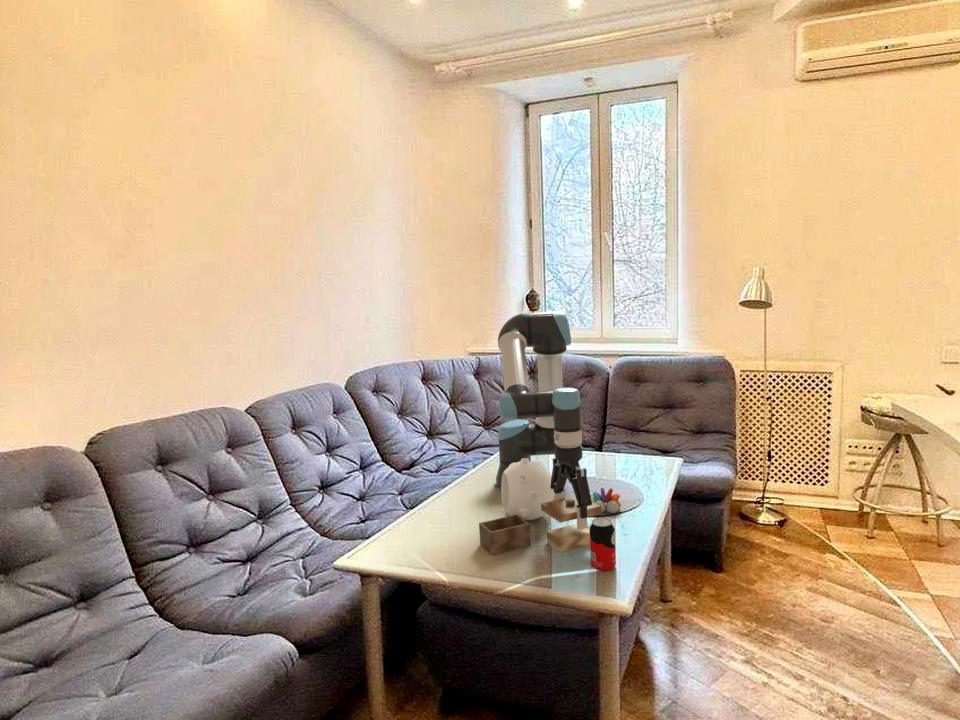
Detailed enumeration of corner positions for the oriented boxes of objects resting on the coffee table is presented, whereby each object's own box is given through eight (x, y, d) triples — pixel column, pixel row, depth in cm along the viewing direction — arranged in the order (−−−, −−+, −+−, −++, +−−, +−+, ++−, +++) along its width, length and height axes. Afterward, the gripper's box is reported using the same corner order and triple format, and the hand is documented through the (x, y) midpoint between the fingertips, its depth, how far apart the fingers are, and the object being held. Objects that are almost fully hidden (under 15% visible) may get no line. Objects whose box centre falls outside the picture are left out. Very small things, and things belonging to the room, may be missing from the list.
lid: (560, 522, 157) (559, 511, 157) (541, 510, 167) (540, 499, 167) (601, 513, 162) (600, 501, 162) (580, 501, 172) (579, 491, 172)
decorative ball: (565, 528, 177) (562, 465, 175) (509, 535, 174) (505, 471, 172) (547, 505, 197) (544, 448, 194) (496, 511, 194) (493, 453, 192)
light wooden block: (560, 554, 161) (559, 540, 160) (547, 544, 167) (546, 531, 166) (597, 544, 165) (596, 530, 165) (583, 535, 172) (582, 522, 171)
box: (491, 557, 161) (490, 533, 160) (480, 546, 168) (479, 522, 167) (530, 547, 165) (529, 523, 165) (518, 537, 173) (516, 514, 172)
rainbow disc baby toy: (621, 515, 185) (621, 492, 184) (590, 514, 187) (589, 492, 186) (620, 505, 193) (620, 483, 193) (590, 504, 195) (589, 483, 194)
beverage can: (600, 574, 148) (598, 528, 147) (586, 564, 154) (584, 520, 152) (620, 568, 151) (619, 523, 149) (606, 558, 156) (604, 515, 155)
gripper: (536, 438, 172) (539, 511, 174) (579, 456, 151) (582, 539, 153) (558, 434, 175) (561, 506, 177) (603, 451, 153) (606, 533, 156)
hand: (571, 521), depth 165 cm, fingers closed on lid, 10 cm apart
